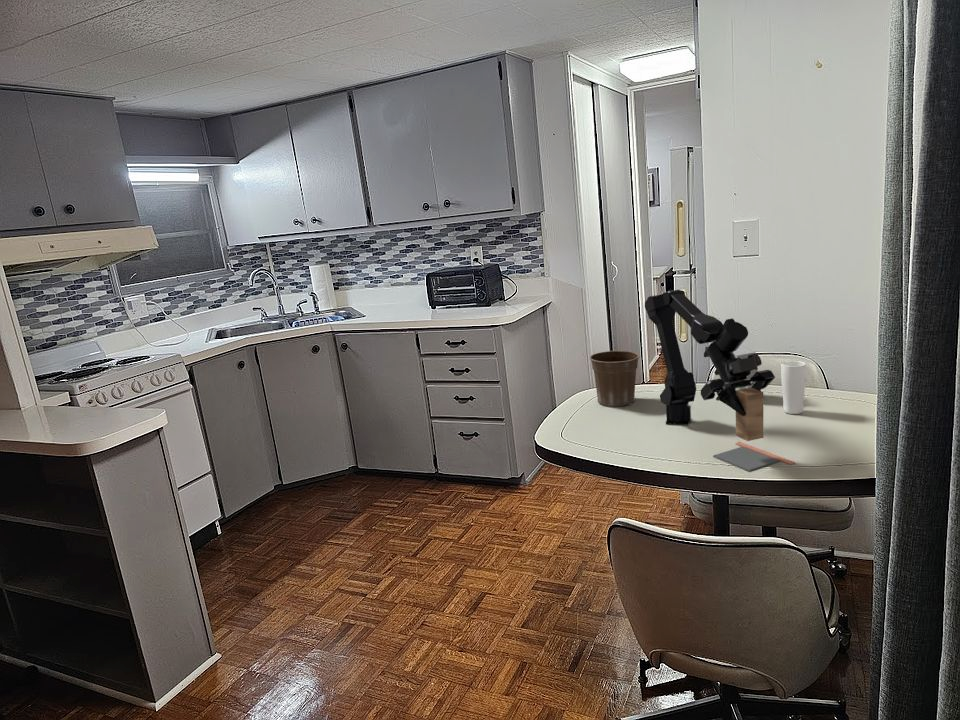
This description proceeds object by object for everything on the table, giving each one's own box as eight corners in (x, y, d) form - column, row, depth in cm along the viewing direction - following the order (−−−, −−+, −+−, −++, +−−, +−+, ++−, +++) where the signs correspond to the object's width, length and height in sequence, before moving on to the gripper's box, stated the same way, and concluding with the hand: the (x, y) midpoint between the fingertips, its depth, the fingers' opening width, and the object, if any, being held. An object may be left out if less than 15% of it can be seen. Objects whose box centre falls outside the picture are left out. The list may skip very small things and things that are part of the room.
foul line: (735, 444, 180) (735, 443, 180) (739, 442, 181) (739, 441, 181) (790, 464, 164) (790, 463, 164) (795, 463, 165) (795, 462, 164)
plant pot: (641, 394, 232) (639, 349, 228) (641, 408, 217) (639, 360, 213) (594, 395, 236) (591, 351, 232) (591, 410, 221) (588, 362, 217)
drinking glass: (805, 408, 201) (806, 360, 198) (805, 416, 195) (806, 366, 192) (781, 408, 204) (781, 360, 201) (780, 415, 198) (780, 366, 195)
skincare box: (760, 400, 213) (760, 352, 209) (737, 402, 213) (737, 354, 209) (750, 393, 221) (749, 346, 217) (728, 395, 221) (727, 349, 217)
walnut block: (735, 435, 170) (735, 390, 168) (751, 432, 172) (751, 387, 169) (747, 441, 166) (747, 395, 163) (763, 437, 167) (763, 392, 164)
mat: (713, 456, 173) (713, 455, 173) (742, 447, 177) (742, 446, 177) (748, 471, 163) (748, 470, 162) (778, 461, 166) (778, 460, 166)
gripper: (706, 350, 165) (734, 404, 157) (770, 338, 169) (801, 390, 162) (688, 373, 174) (715, 425, 166) (750, 362, 179) (778, 412, 171)
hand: (752, 413), depth 166 cm, fingers closed on walnut block, 5 cm apart
